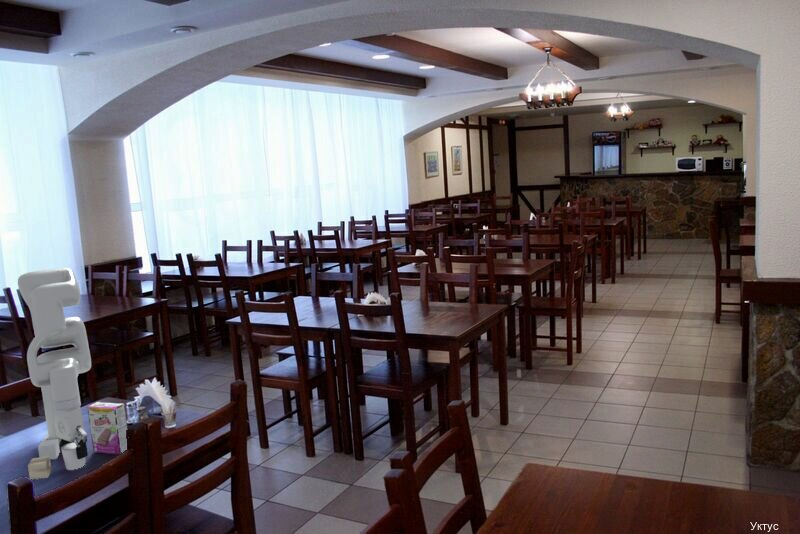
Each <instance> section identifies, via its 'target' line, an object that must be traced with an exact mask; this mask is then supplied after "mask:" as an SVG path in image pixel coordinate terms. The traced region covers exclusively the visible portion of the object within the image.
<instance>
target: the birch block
mask: <svg viewBox="0 0 800 534" xmlns="http://www.w3.org/2000/svg"><path fill="white" fill-rule="evenodd" d="M51 464H52V463H51V460H50V456H46V457H34V458H33V457H32V458H31V460H30V461H29V462H28V464H27V470H28V475H29V480H30V479H32V480H31V481H34V480H33V479H36V480H42V479H48V478H49V476H50V474H51V473H52V465H51ZM39 478H40V479H39ZM41 478H42V479H41Z"/></svg>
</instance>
